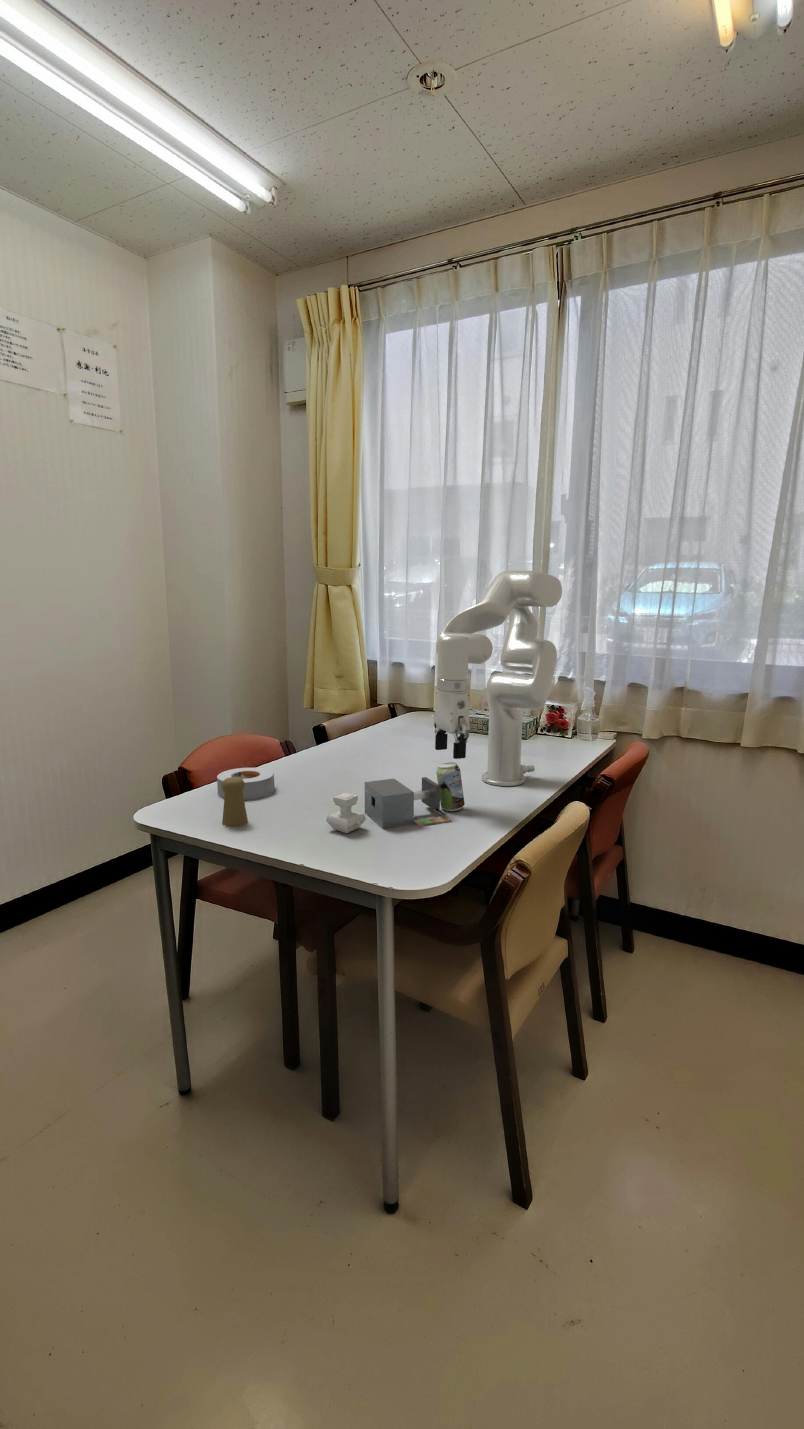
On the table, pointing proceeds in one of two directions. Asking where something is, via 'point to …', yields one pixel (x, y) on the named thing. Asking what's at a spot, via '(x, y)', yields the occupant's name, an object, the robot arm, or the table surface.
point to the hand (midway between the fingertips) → (449, 753)
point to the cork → (234, 802)
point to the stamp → (345, 814)
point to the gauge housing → (389, 803)
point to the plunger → (429, 794)
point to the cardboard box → (432, 821)
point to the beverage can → (450, 786)
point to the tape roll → (250, 782)
